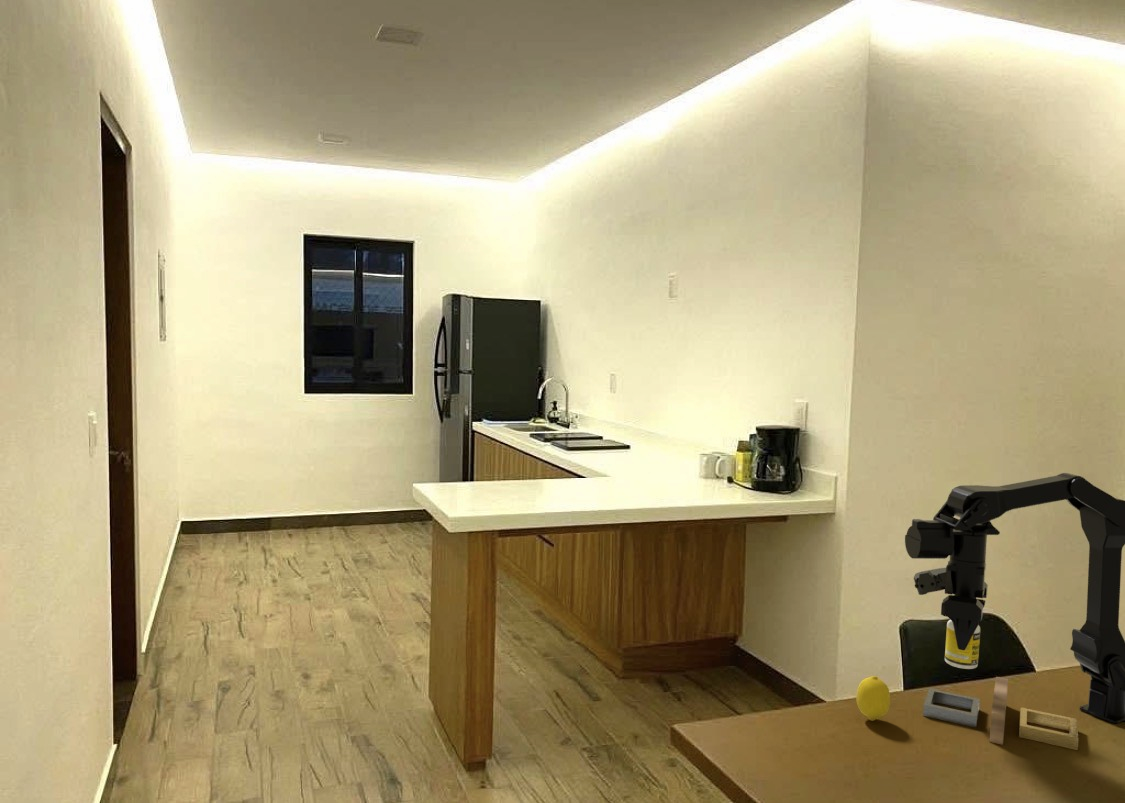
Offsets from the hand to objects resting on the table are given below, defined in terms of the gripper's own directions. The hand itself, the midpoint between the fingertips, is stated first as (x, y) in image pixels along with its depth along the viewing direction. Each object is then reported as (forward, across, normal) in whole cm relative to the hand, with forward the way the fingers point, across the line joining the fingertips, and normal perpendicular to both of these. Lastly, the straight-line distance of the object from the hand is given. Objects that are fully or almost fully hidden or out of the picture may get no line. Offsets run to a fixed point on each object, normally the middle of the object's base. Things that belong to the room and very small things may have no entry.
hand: (962, 644), depth 151 cm
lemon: (+13, +12, -13) cm, 21 cm away
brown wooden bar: (+13, 0, +6) cm, 14 cm away
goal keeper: (+13, 0, +14) cm, 19 cm away
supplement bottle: (+4, 0, 0) cm, 4 cm away
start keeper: (+13, 0, -1) cm, 13 cm away
